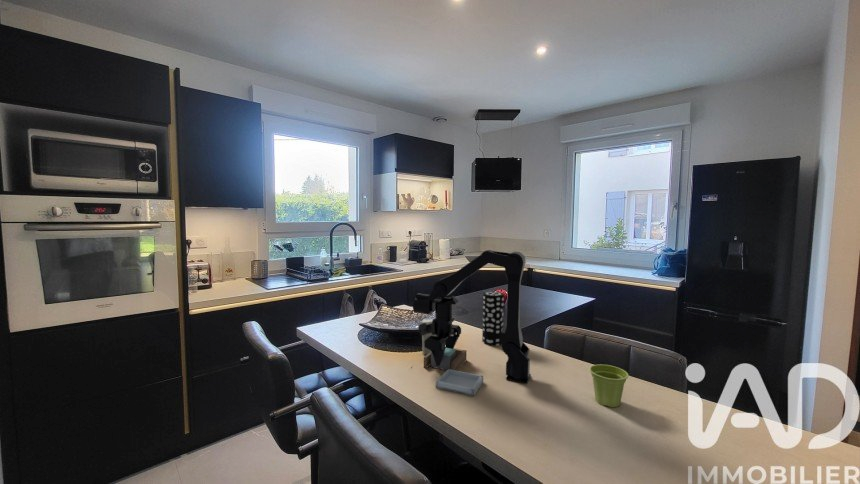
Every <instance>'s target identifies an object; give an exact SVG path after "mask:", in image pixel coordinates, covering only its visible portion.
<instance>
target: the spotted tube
mask: <svg viewBox="0 0 860 484" xmlns="http://www.w3.org/2000/svg"><path fill="white" fill-rule="evenodd" d="M504 301H505V294H504V292H499V291H485V292H482V340H481V341H482V344H485V345H487V346H491V347H492V346H495V347H497V346H500V343H501V335H500V333H501V331H502V329H503V327H504V313H505V312H504V310H505V309H504V307H505V305H504V303H505V302H504Z"/></svg>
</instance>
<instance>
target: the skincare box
mask: <svg viewBox="0 0 860 484" xmlns="http://www.w3.org/2000/svg"><path fill="white" fill-rule="evenodd" d="M433 319H434V318H431V319H430V318H423V319H422V321H421V324H423V323H428V322H432V320H433ZM430 336H436V337H438V336H437V335H432V333H428V334H425V335H422V334H421V340H422V341H421V344H422V345H421V348H422V355H427V354H428V353H430V352H431V351H430V350H429V349H427V348H425V347H424V341H425V340H426V339H427V338H428V337H430Z"/></svg>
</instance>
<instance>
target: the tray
mask: <svg viewBox="0 0 860 484" xmlns="http://www.w3.org/2000/svg"><path fill="white" fill-rule="evenodd" d="M483 383H484V375H481V374H476V373H470V372H467V371H466V372H465V371H460V370H452V369H448V370H445V372H443V373H442V375H441V376H440V377H438V378H437V380H436V381H435V388H436V389H440V390H442V391H443V390H444V391H446V392H447V391H448V392H452V393H458V394H461V395H466V396H470V397H475V395H476V393H477V392H478V390H479V389H480V388H481V386H482V385H483Z"/></svg>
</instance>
